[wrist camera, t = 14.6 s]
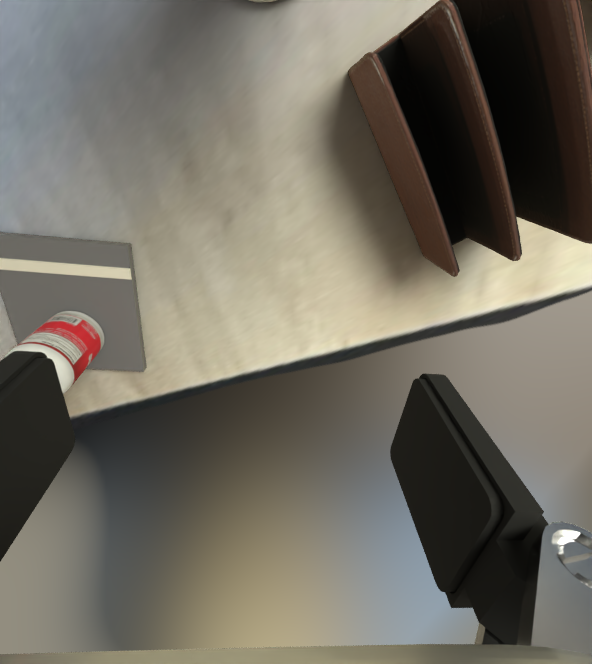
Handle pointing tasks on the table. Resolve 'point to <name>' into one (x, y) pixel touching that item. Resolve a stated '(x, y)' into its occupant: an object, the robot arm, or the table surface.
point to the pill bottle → (66, 344)
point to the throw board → (74, 291)
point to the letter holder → (485, 122)
